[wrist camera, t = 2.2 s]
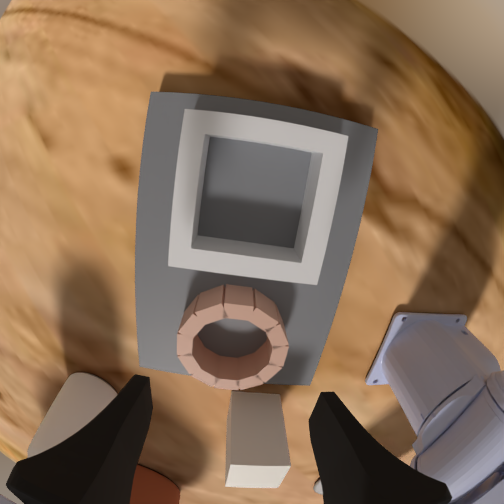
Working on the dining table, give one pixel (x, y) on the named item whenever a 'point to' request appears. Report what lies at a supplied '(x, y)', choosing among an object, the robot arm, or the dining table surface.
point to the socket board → (244, 236)
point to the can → (72, 410)
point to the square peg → (256, 441)
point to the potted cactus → (152, 488)
